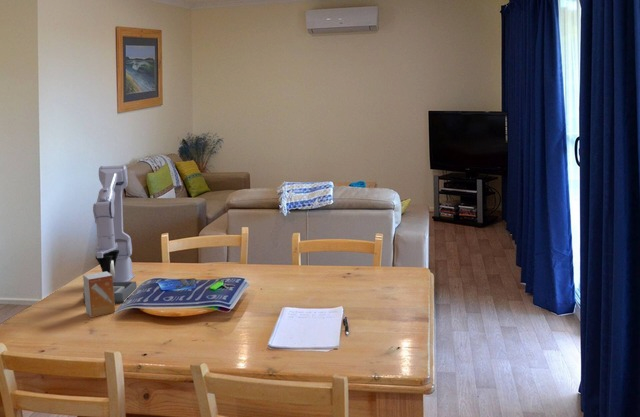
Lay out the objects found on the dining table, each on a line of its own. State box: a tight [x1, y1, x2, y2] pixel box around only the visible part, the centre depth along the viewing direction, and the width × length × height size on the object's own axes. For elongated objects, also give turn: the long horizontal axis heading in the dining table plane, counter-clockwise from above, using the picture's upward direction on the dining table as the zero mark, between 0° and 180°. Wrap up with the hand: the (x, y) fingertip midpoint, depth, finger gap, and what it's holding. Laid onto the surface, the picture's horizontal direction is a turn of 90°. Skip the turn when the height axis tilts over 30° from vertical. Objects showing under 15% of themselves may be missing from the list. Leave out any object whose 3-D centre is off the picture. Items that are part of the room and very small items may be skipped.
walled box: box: [83, 280, 138, 304], centre depth 257 cm, size 14×14×4 cm
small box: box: [82, 271, 116, 318], centre depth 239 cm, size 8×6×13 cm
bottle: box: [110, 260, 115, 278], centre depth 255 cm, size 4×4×8 cm
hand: (109, 272), depth 255 cm, fingers closed on bottle, 4 cm apart
